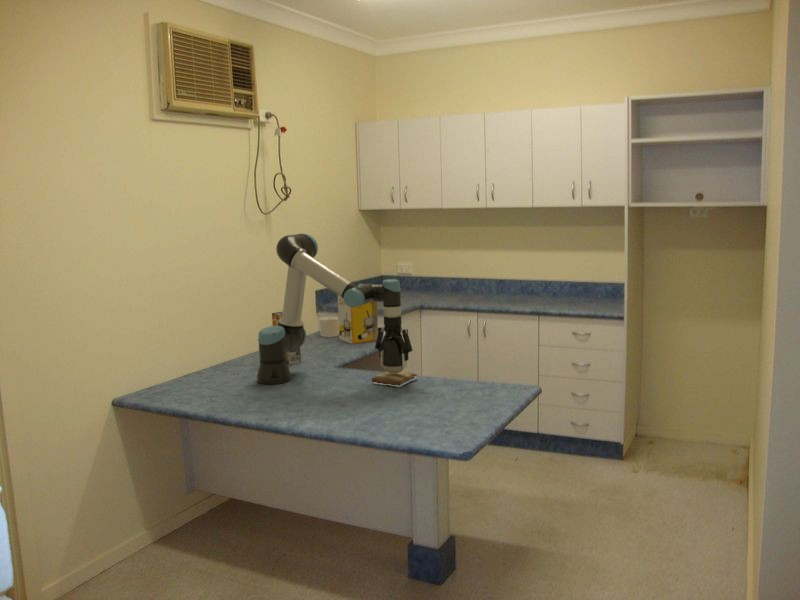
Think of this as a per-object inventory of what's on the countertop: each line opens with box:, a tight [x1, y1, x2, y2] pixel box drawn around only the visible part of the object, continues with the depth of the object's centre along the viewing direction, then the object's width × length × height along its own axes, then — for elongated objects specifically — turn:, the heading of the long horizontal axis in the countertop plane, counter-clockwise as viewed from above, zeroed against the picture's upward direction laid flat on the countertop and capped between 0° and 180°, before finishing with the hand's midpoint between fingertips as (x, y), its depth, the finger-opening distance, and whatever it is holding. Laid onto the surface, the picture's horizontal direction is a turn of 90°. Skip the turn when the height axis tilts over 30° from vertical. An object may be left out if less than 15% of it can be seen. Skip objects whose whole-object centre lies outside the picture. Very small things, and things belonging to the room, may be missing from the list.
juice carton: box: [271, 310, 302, 365], centre depth 358 cm, size 12×8×24 cm, turn 43°
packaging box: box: [337, 295, 379, 345], centre depth 405 cm, size 16×16×25 cm
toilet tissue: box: [319, 316, 339, 338], centre depth 420 cm, size 11×12×10 cm
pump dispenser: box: [382, 337, 404, 373], centre depth 313 cm, size 10×10×15 cm
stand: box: [371, 371, 418, 386], centre depth 315 cm, size 14×14×3 cm
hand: (394, 366), depth 314 cm, fingers closed on pump dispenser, 10 cm apart
